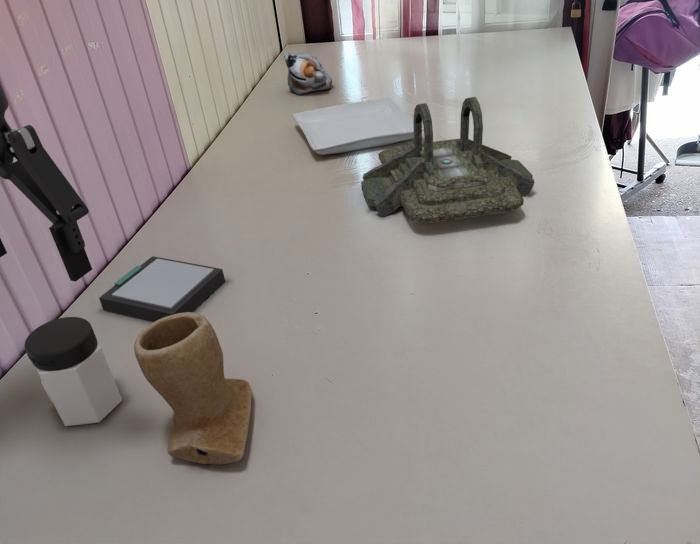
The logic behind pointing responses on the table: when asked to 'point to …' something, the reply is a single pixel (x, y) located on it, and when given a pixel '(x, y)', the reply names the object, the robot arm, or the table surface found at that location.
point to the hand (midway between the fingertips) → (37, 266)
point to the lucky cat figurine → (306, 73)
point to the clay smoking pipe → (195, 389)
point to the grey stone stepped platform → (446, 174)
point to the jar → (73, 370)
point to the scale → (162, 289)
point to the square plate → (355, 126)
